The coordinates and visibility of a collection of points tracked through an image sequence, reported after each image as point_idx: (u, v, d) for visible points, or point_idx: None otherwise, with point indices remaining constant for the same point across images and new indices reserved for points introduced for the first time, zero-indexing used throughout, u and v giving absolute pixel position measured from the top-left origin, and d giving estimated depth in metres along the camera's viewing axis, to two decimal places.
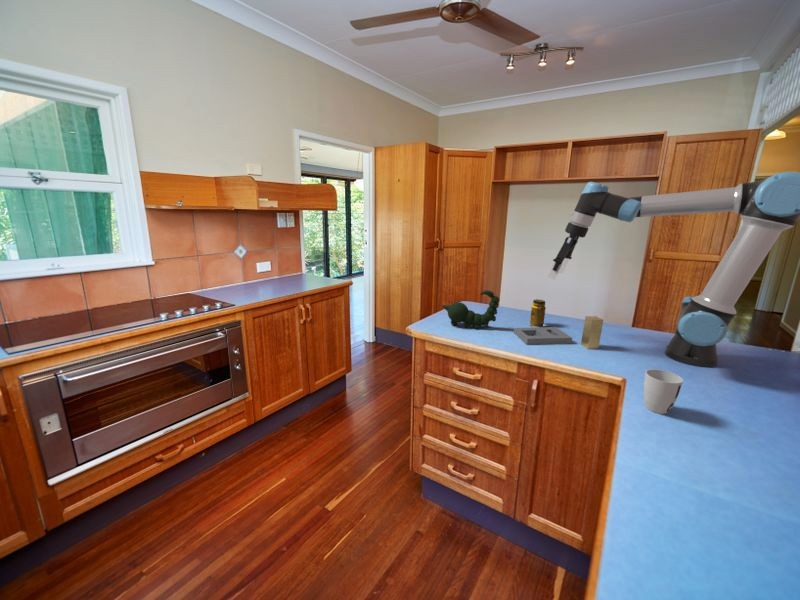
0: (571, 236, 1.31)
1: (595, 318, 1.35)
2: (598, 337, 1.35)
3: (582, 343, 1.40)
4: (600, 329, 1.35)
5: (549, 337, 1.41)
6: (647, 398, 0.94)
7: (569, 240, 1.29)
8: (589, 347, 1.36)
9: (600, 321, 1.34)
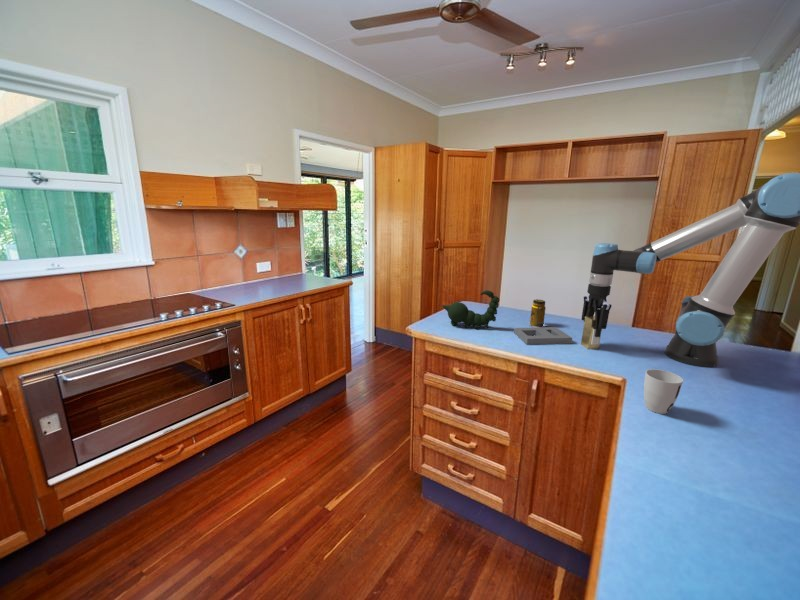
0: (603, 298, 1.30)
1: None
2: None
3: (582, 343, 1.40)
4: None
5: (549, 337, 1.41)
6: (647, 398, 0.94)
7: (608, 307, 1.28)
8: (589, 347, 1.36)
9: None
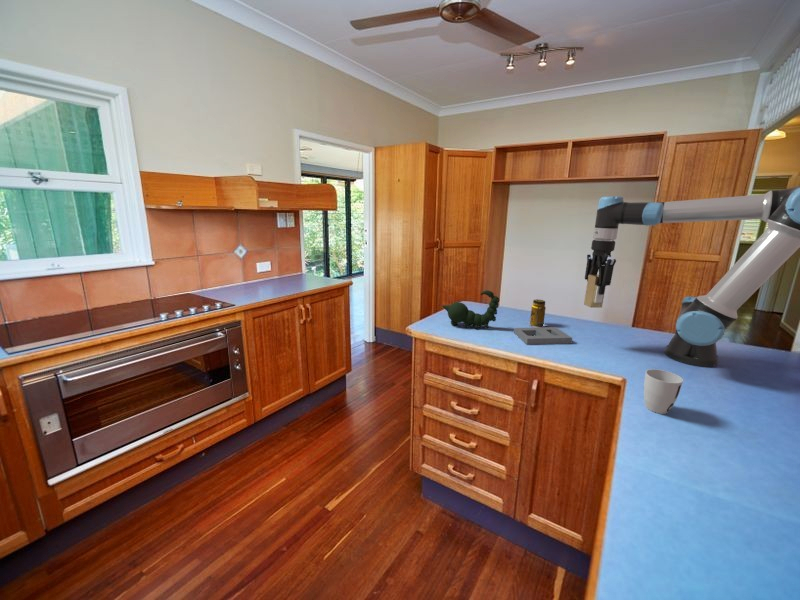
0: (608, 253, 1.26)
1: None
2: None
3: (585, 302, 1.36)
4: None
5: (549, 337, 1.41)
6: (647, 398, 0.94)
7: (612, 262, 1.24)
8: (592, 306, 1.33)
9: None
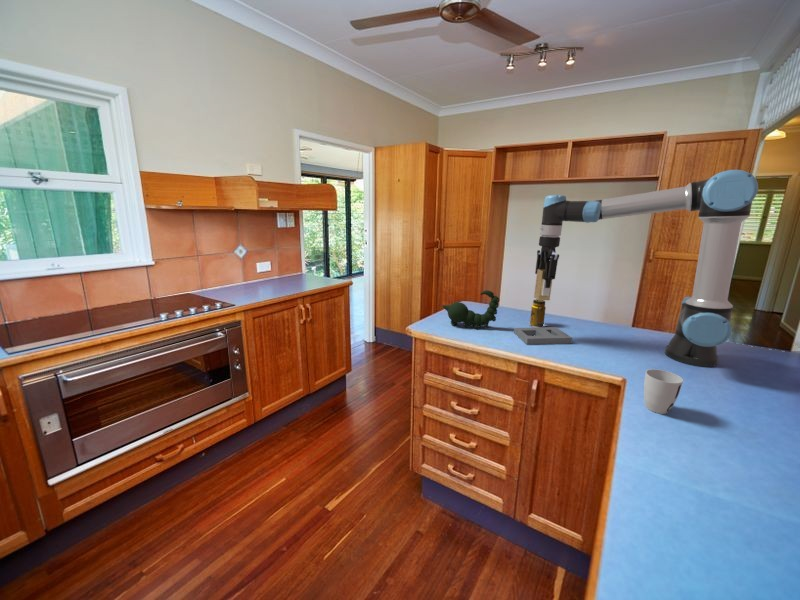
0: (552, 248, 1.34)
1: None
2: None
3: (535, 295, 1.44)
4: (551, 280, 1.39)
5: (549, 337, 1.41)
6: (647, 398, 0.94)
7: (556, 257, 1.32)
8: (540, 298, 1.40)
9: None
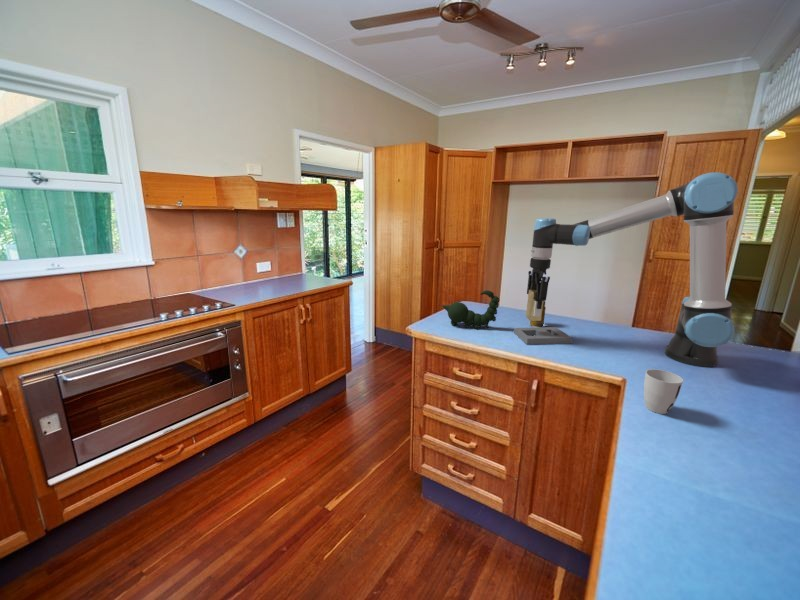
0: (543, 270, 1.35)
1: None
2: None
3: (526, 316, 1.45)
4: (542, 301, 1.40)
5: (549, 337, 1.41)
6: (647, 398, 0.94)
7: (546, 279, 1.34)
8: (532, 319, 1.42)
9: None
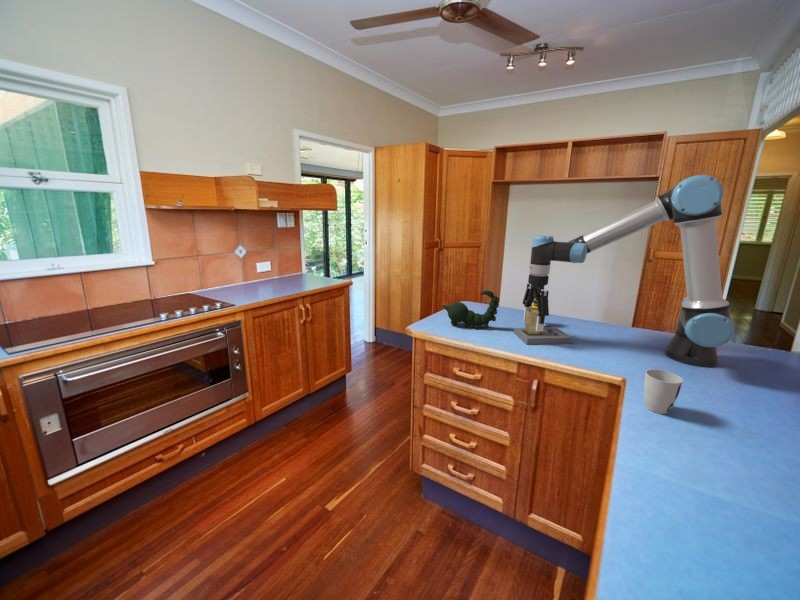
0: (541, 287, 1.37)
1: (535, 311, 1.43)
2: None
3: None
4: None
5: (549, 337, 1.41)
6: (647, 398, 0.94)
7: (545, 293, 1.35)
8: None
9: None
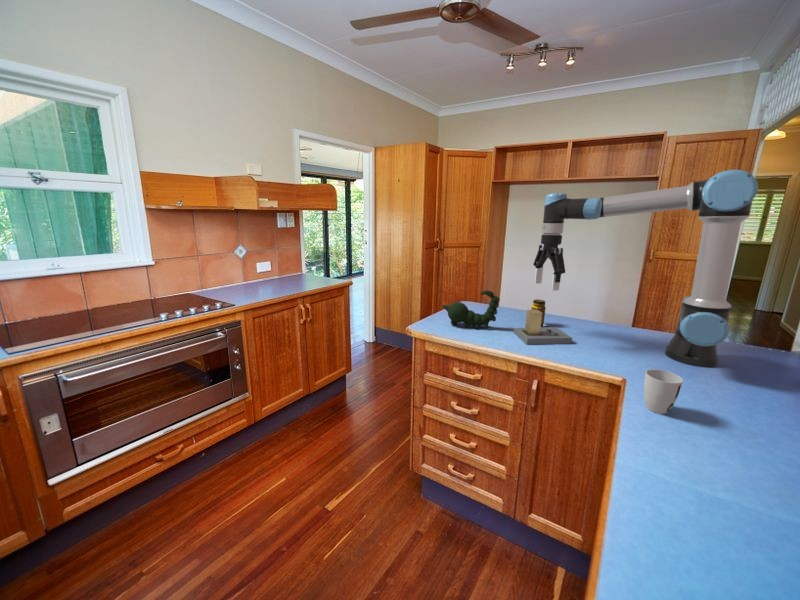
0: (555, 246, 1.35)
1: (535, 311, 1.43)
2: (538, 329, 1.43)
3: None
4: (540, 321, 1.42)
5: (549, 337, 1.41)
6: (647, 398, 0.94)
7: (560, 250, 1.32)
8: None
9: (539, 314, 1.42)
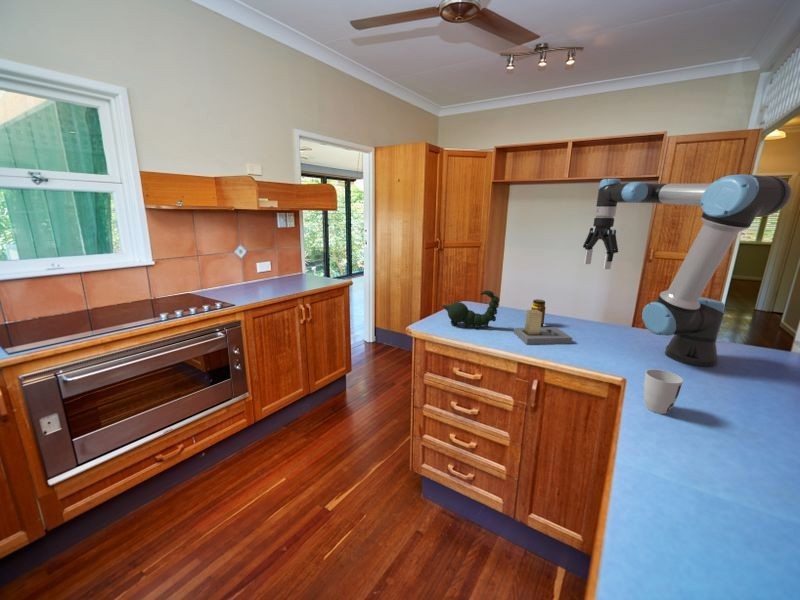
0: (608, 228, 1.46)
1: (535, 311, 1.43)
2: (538, 329, 1.43)
3: None
4: (540, 321, 1.42)
5: (549, 337, 1.41)
6: (647, 398, 0.94)
7: (613, 231, 1.43)
8: None
9: (539, 314, 1.42)
